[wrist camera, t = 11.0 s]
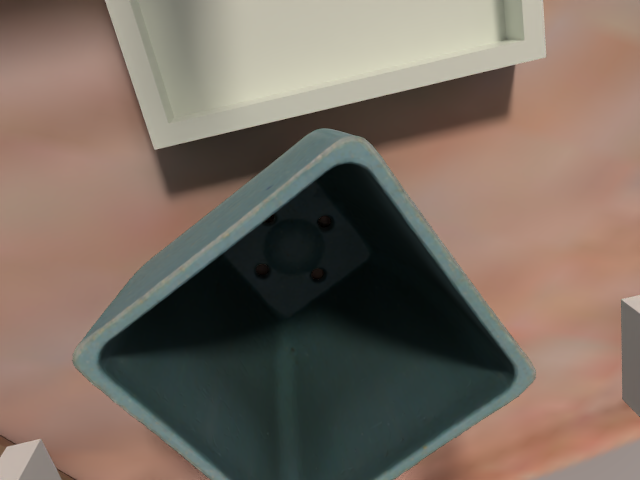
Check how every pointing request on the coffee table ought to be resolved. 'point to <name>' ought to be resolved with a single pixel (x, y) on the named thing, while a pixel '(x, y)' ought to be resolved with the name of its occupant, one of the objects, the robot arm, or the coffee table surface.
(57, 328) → the coffee table surface
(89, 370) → the flower pot
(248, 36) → the tray
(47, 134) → the coffee table surface
